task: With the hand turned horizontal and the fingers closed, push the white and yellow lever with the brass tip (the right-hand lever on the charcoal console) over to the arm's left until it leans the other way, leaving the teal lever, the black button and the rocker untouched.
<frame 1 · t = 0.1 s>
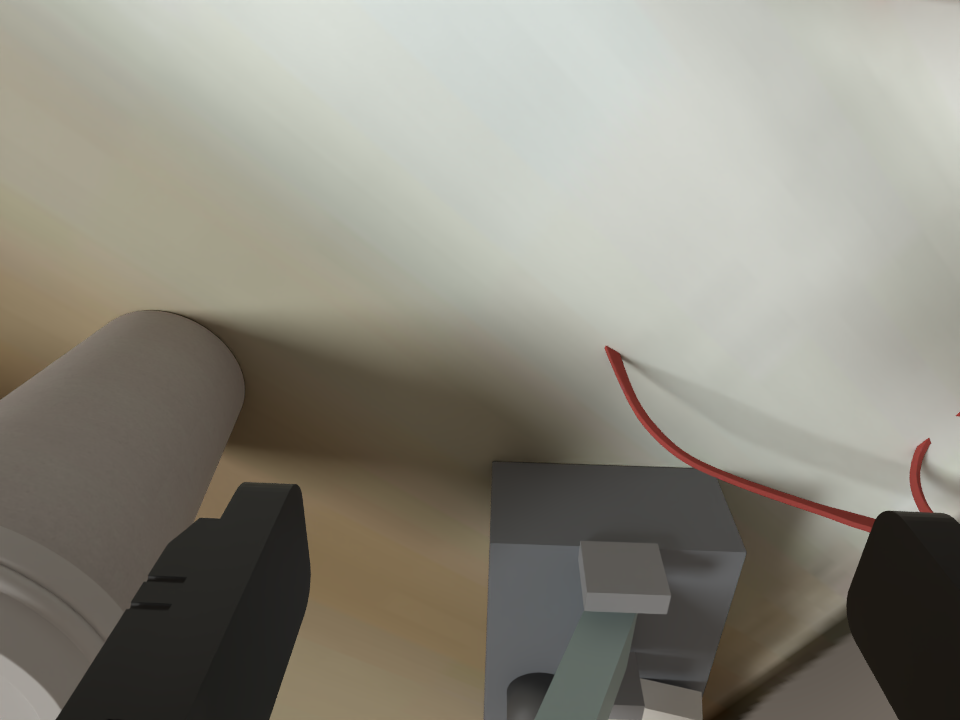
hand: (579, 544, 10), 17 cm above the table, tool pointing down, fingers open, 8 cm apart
console: (581, 612, 36), on the table
red eyeglasses: (878, 283, 27), on the table
coffee cup: (171, 375, 29), on the table
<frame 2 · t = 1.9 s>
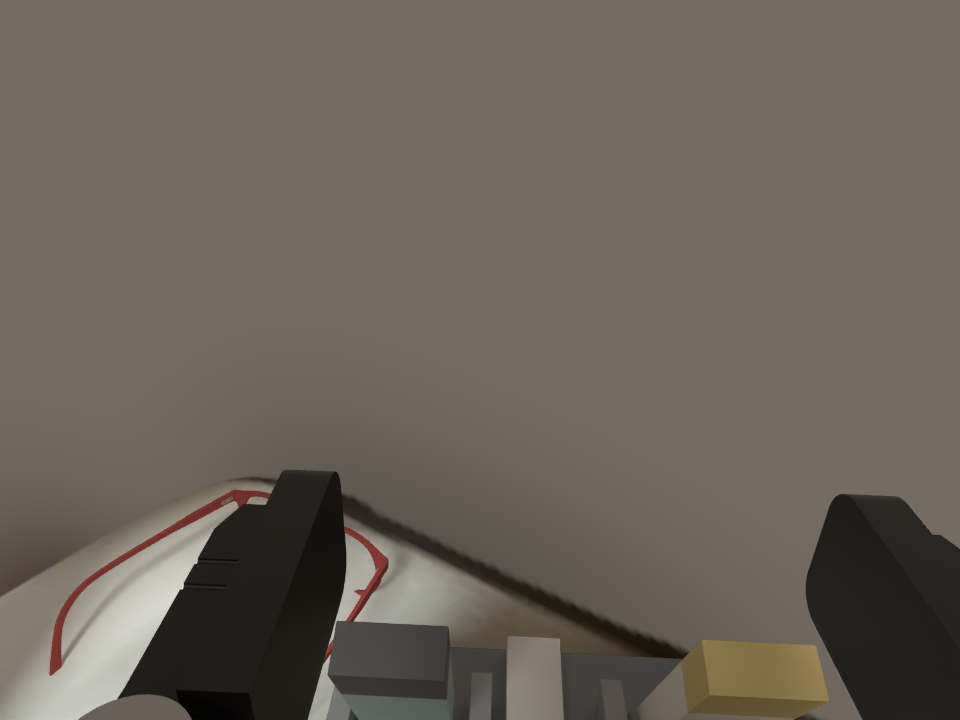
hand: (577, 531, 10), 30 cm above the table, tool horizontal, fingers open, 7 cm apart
teal lever: (403, 690, 29), point 11 cm above the table, hinge at 25.0°
white and yellow lever: (712, 707, 28), point 11 cm above the table, hinge at 25.0°
red eyeglasses: (238, 639, 45), on the table
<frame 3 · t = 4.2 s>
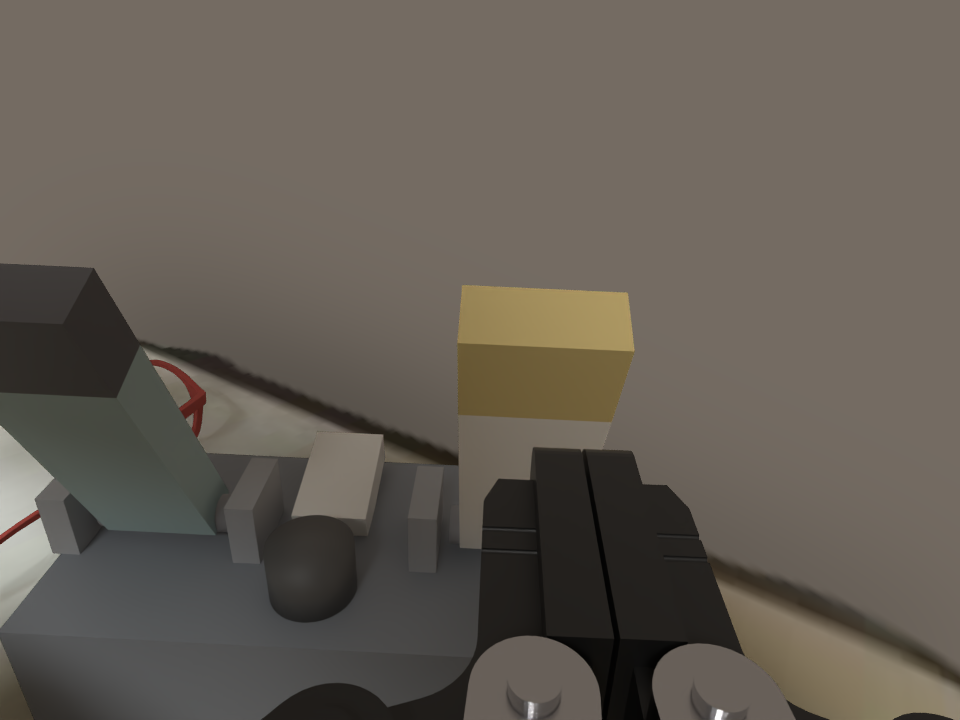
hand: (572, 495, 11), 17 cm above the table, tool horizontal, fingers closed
teal lever: (107, 431, 21), point 11 cm above the table, hinge at 25.0°
console: (349, 630, 28), on the table
white and yellow lever: (525, 452, 21), point 11 cm above the table, hinge at 25.0°
red eyeglasses: (17, 488, 36), on the table
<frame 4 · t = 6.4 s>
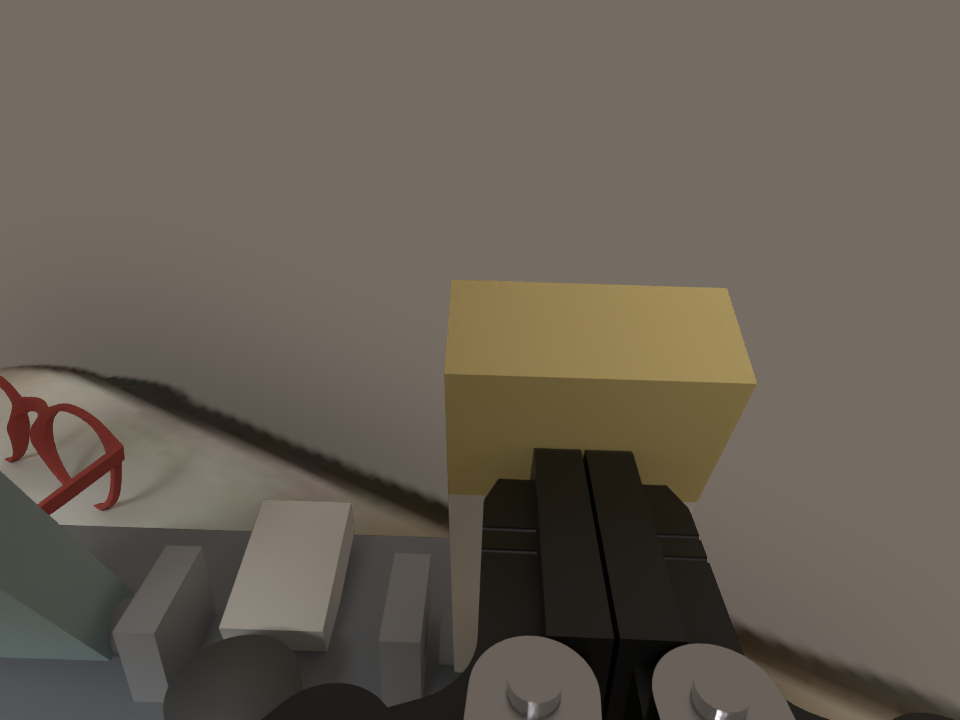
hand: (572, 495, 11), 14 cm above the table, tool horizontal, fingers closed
white and yellow lever: (550, 542, 14), point 11 cm above the table, hinge at 21.6°, touching gripper
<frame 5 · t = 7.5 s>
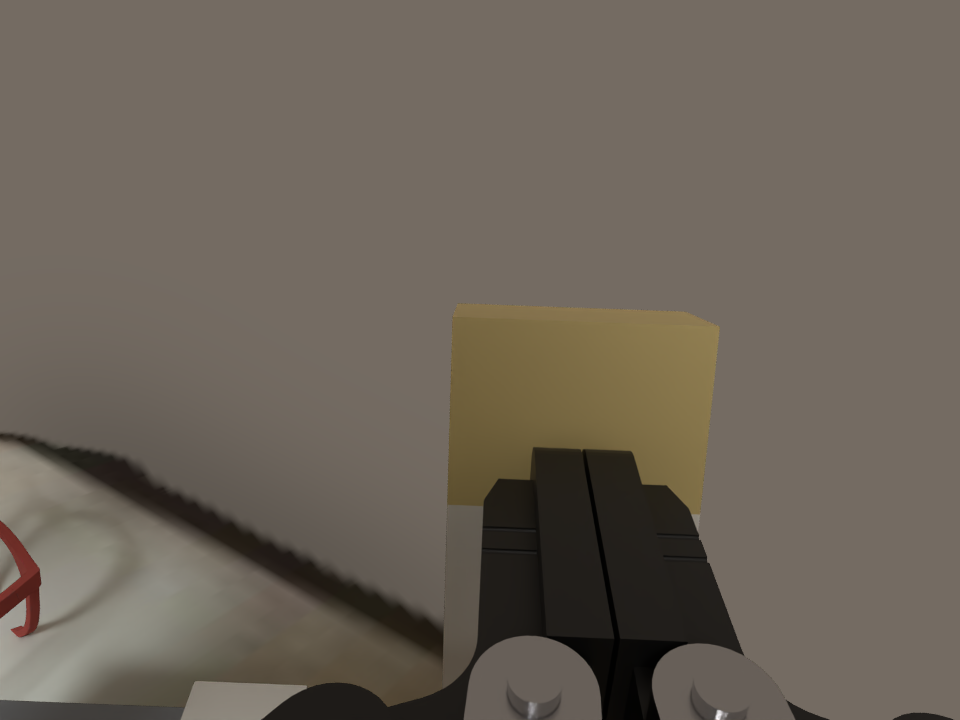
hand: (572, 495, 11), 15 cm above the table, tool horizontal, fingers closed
white and yellow lever: (555, 662, 12), point 11 cm above the table, hinge at -14.5°, touching gripper
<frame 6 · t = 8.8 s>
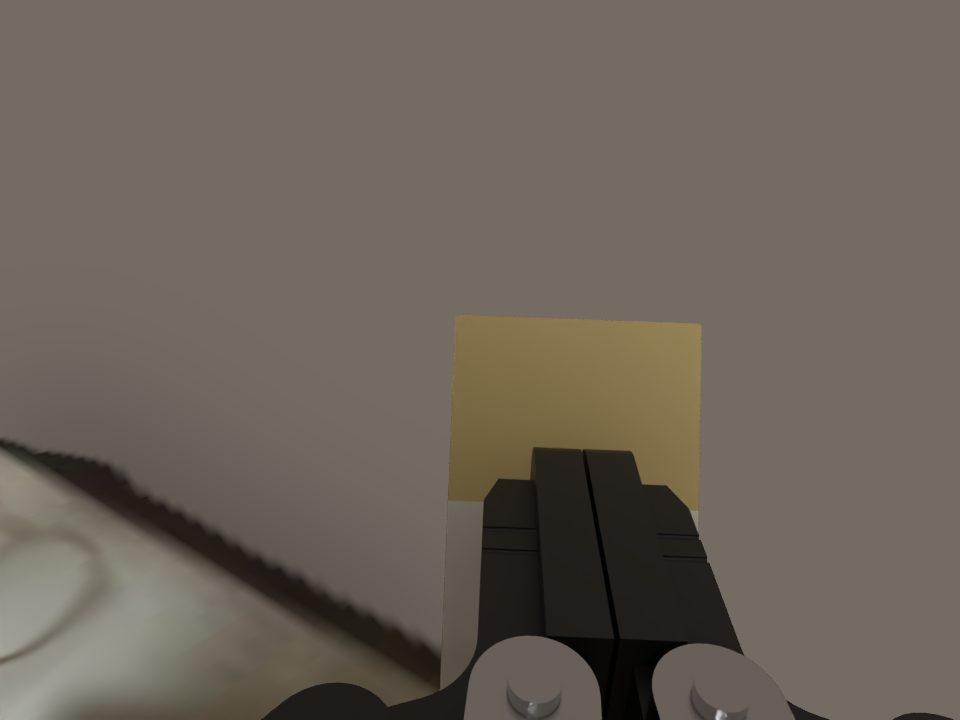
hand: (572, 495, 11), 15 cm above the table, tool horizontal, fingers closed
white and yellow lever: (560, 697, 12), point 11 cm above the table, hinge at -30.3°, touching gripper
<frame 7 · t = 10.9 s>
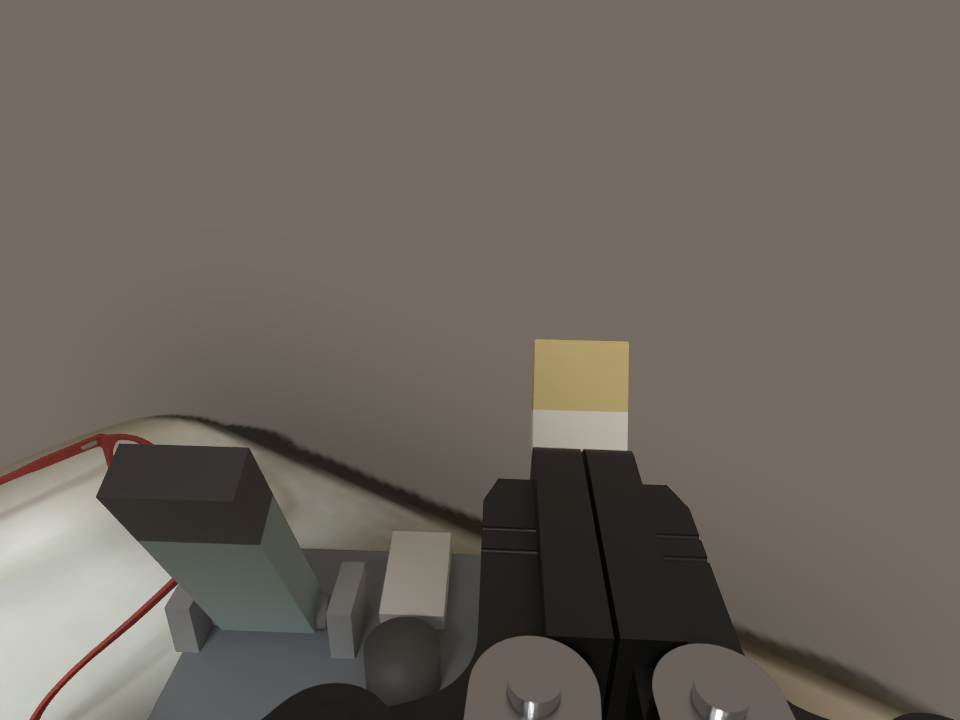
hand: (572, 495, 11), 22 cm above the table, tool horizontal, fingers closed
teal lever: (235, 557, 25), point 11 cm above the table, hinge at 25.0°
console: (426, 709, 32), on the table
white and yellow lever: (576, 488, 29), point 11 cm above the table, hinge at -30.4°
red eyeglasses: (79, 595, 39), on the table
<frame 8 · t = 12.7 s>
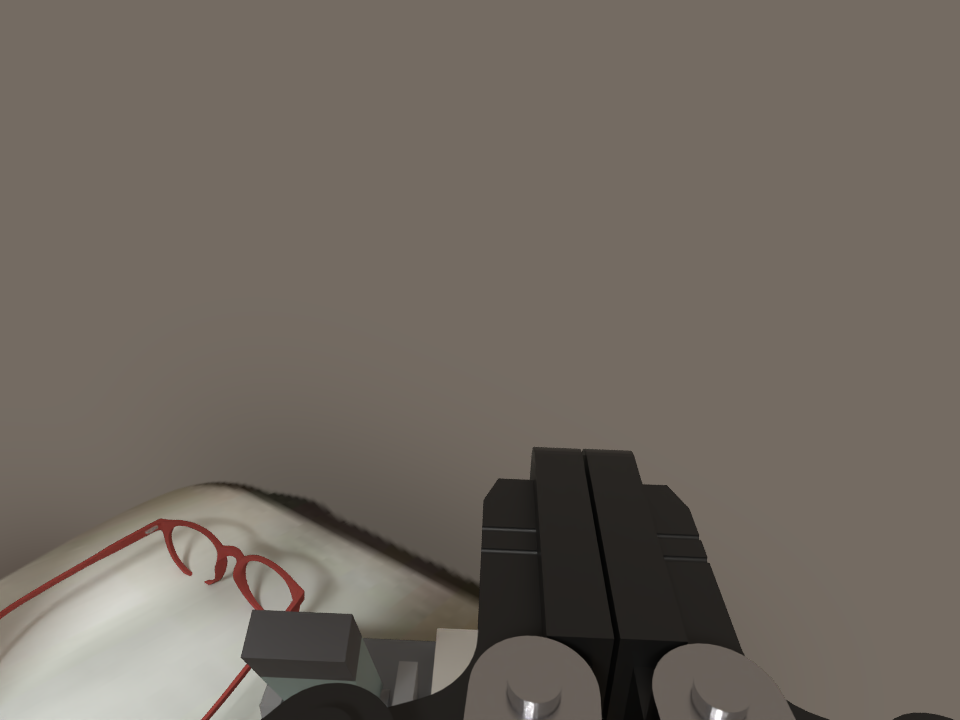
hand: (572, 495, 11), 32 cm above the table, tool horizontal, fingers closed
teal lever: (325, 675, 31), point 11 cm above the table, hinge at 25.0°
red eyeglasses: (152, 672, 45), on the table
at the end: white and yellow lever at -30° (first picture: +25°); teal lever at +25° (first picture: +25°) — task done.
